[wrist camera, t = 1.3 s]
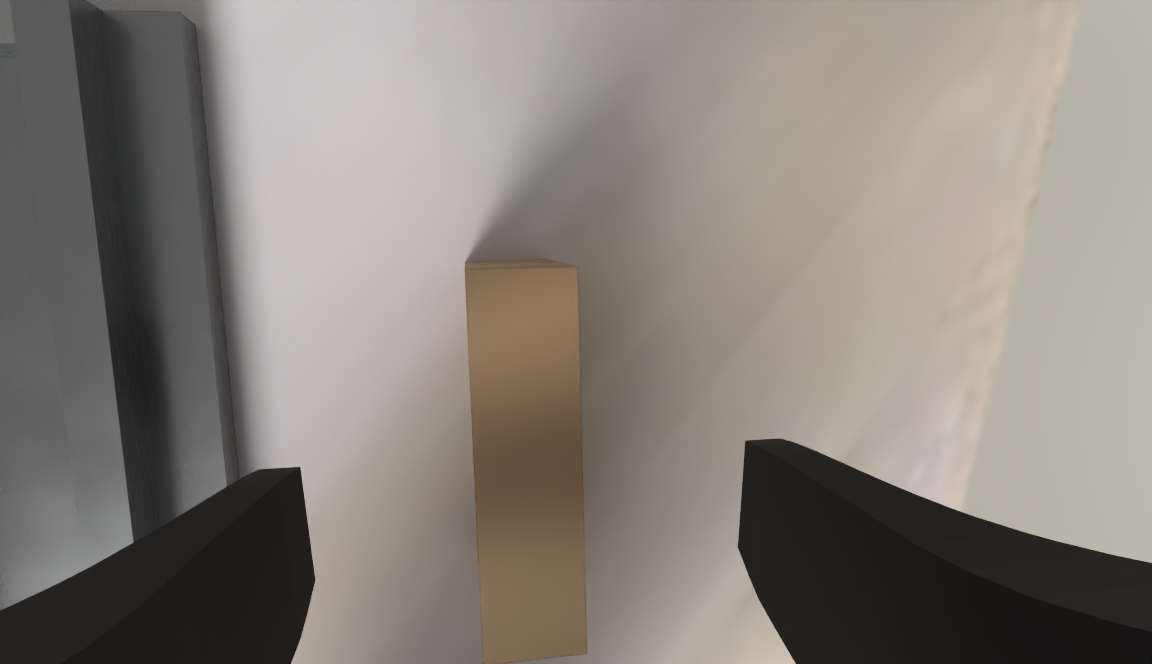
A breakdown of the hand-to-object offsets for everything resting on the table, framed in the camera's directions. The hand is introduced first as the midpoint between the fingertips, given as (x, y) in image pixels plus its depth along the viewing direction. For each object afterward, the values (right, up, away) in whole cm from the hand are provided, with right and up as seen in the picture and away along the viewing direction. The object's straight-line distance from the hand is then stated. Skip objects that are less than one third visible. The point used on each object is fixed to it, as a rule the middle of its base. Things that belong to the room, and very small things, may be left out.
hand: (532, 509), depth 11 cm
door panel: (-1, +1, +10) cm, 10 cm away
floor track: (-14, +2, +8) cm, 16 cm away
